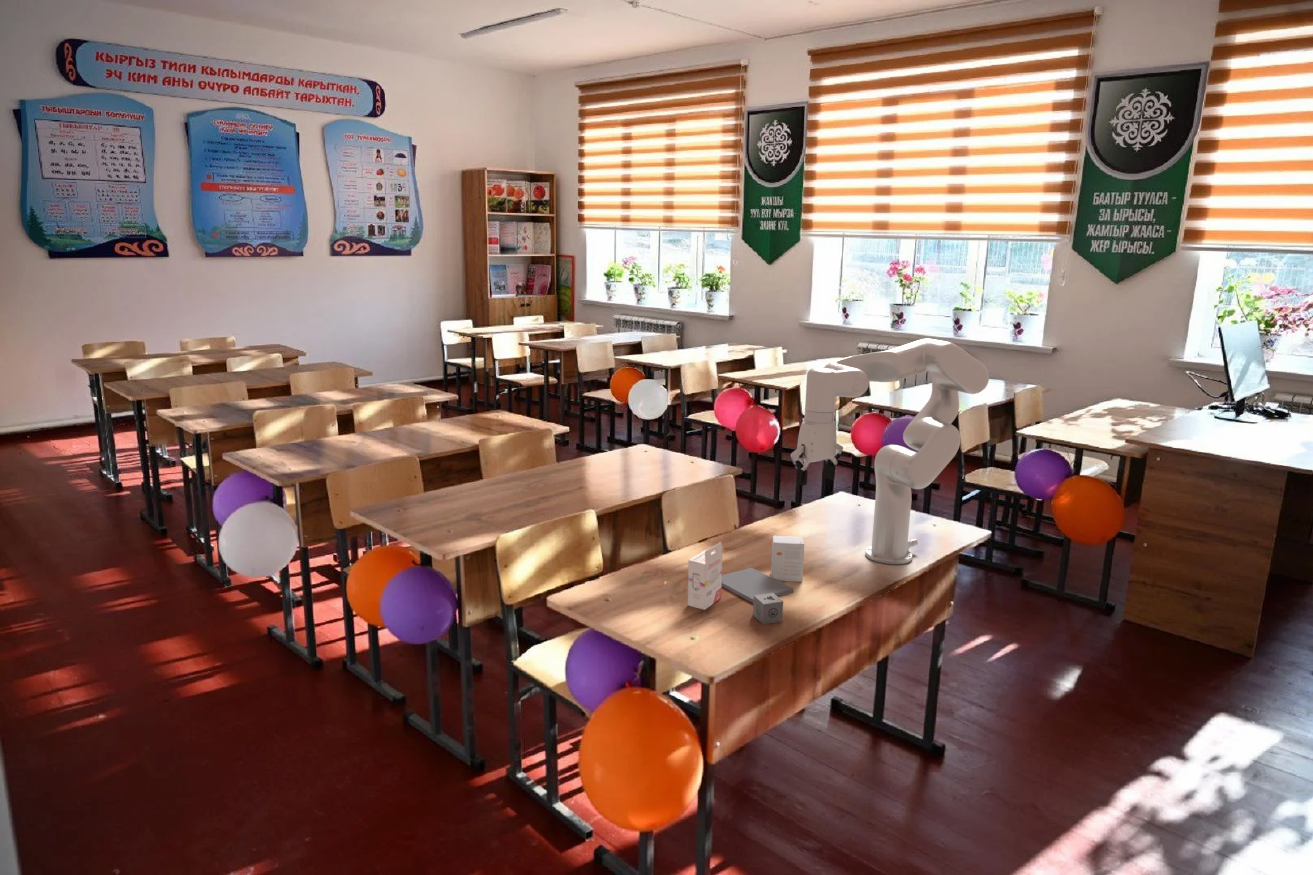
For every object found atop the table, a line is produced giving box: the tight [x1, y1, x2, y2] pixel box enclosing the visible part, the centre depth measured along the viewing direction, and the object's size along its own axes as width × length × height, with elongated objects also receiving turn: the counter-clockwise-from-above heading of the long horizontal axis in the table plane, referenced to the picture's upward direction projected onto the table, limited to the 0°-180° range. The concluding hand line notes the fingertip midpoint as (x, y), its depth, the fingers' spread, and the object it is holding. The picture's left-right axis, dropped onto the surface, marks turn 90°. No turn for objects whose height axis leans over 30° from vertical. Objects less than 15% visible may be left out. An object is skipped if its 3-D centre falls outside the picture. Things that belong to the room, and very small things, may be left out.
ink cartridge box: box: [687, 541, 723, 611], centre depth 207 cm, size 9×5×15 cm, turn 148°
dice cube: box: [752, 593, 784, 625], centre depth 200 cm, size 5×5×5 cm
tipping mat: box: [721, 567, 794, 604], centre depth 218 cm, size 13×16×1 cm
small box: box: [770, 535, 805, 583], centre depth 223 cm, size 8×6×10 cm
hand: (815, 481), depth 224 cm, fingers open, 9 cm apart
